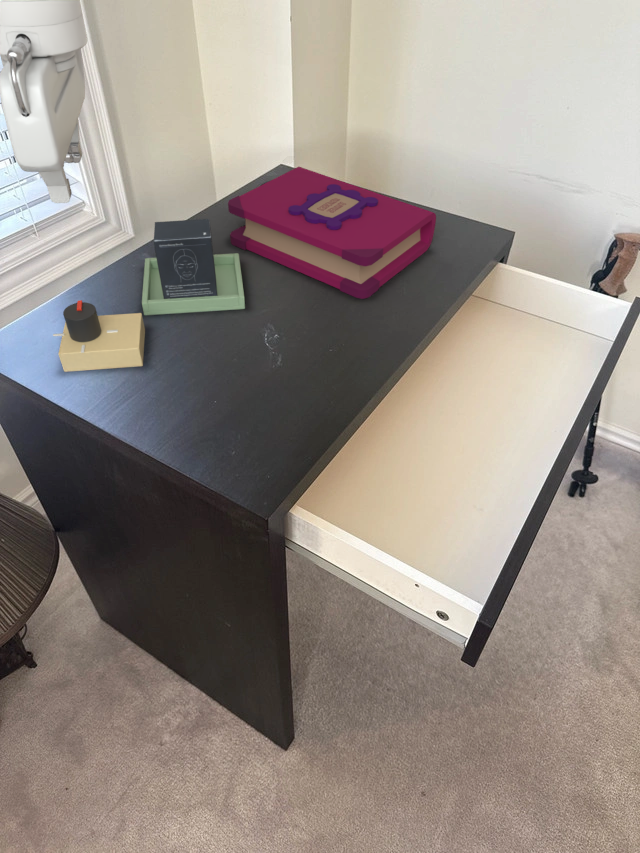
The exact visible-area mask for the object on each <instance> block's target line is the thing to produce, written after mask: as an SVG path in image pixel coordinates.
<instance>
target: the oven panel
mask: <svg viewBox="0 0 640 853" xmlns="http://www.w3.org/2000/svg"><path fill="white" fill-rule="evenodd" d="M143 318H144V317H143V314H142V312H136V313H118V314H104V315H98V319H99V323H100V327H101V334H100V336H99V337H98V338H96V339H94V340H92V341H89V342H77V341H74V340H72V339H71V337H70V335H69V331H68V328H67V325H66V322H64V326H63V331H62V333H53V334H52V336H53V337H61V339H60V345H59V349H58V357H59V361H60V363H61V366H62V369H63V372H64V373H69V372H83V371H95V370H97V371H98V370H107V369H109V370H110V369H123V368H135V367H143V366H144V357H145V356H144V354H145V353H144V352H145V340H146V338H145V336H146V326H145V323H144V322H145V321H144V319H143Z"/></svg>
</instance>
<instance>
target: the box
mask: <svg viewBox="0 0 640 853" xmlns="http://www.w3.org/2000/svg"><path fill="white" fill-rule="evenodd" d="M153 230H154V231H153V241H152V242H153V248H154V254H155V258H156V259H157V265H158V270H159V275H160V281H161V286H162V291H163V297H164V299H173V298H189V297H205V296H218V295H217V283H216V273H215V263H214V255H215V254H214V245H213V236H212V227H211V220H210V219H209V218H201V219H200V218H199V219H183V220H168V221H155V222H154V229H153Z"/></svg>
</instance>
